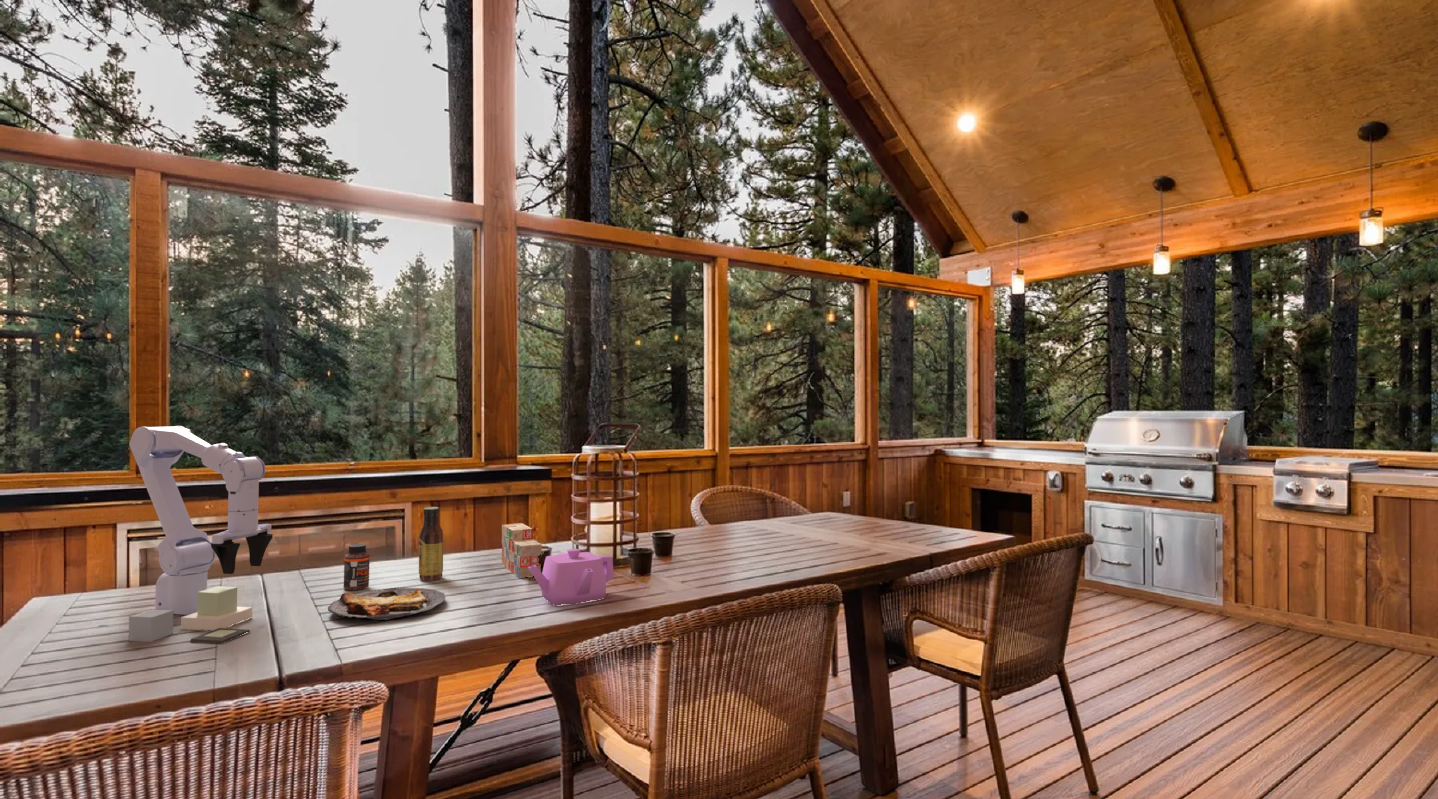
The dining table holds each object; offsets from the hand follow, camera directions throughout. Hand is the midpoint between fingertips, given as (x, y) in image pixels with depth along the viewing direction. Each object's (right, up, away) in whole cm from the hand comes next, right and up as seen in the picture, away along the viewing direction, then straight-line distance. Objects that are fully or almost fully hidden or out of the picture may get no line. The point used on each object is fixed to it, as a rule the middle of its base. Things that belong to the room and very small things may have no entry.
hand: (242, 569), depth 160 cm
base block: (-1, -11, -6) cm, 13 cm away
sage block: (-1, -8, -6) cm, 10 cm away
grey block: (-8, -10, -15) cm, 20 cm away
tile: (+6, -10, -15) cm, 19 cm away
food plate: (+30, -11, +6) cm, 33 cm away
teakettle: (+72, -12, +16) cm, 75 cm away
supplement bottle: (+13, -11, +24) cm, 30 cm away
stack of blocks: (+50, -12, +47) cm, 70 cm away
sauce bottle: (+29, -11, +35) cm, 46 cm away
